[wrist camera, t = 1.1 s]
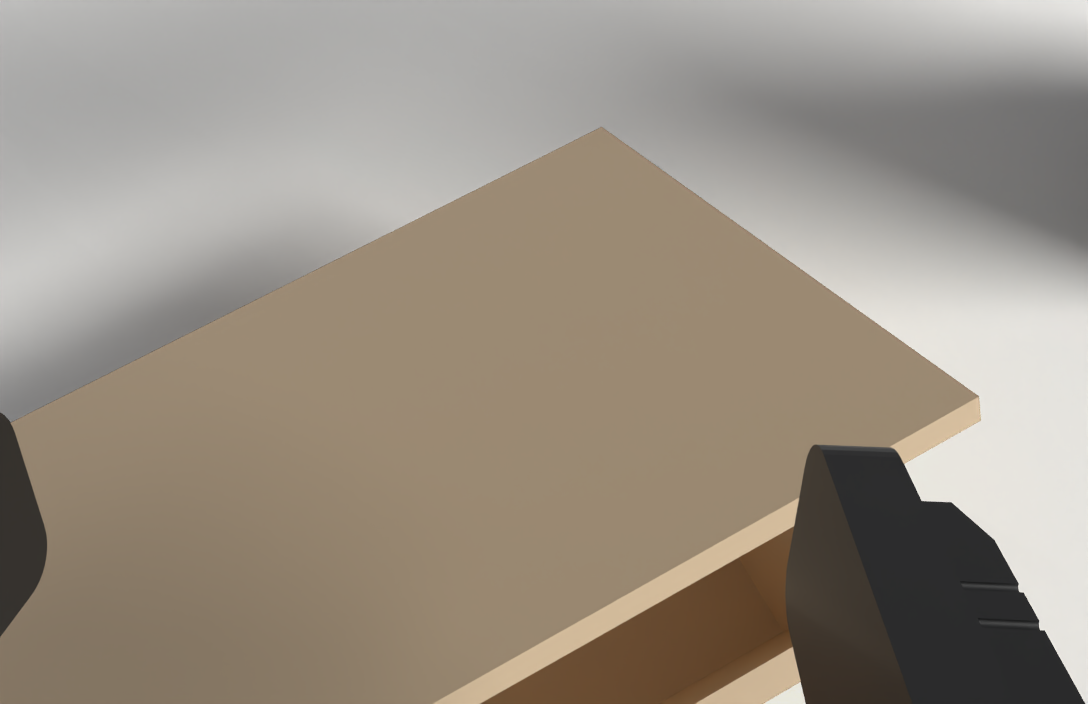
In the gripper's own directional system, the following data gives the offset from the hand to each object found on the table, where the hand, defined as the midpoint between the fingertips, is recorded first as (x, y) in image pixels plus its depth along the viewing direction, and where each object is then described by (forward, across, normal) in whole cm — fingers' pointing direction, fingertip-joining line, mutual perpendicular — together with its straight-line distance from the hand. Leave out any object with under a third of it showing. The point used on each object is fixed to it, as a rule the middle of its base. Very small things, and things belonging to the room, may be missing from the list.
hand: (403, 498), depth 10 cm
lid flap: (+8, +3, +5) cm, 10 cm away
